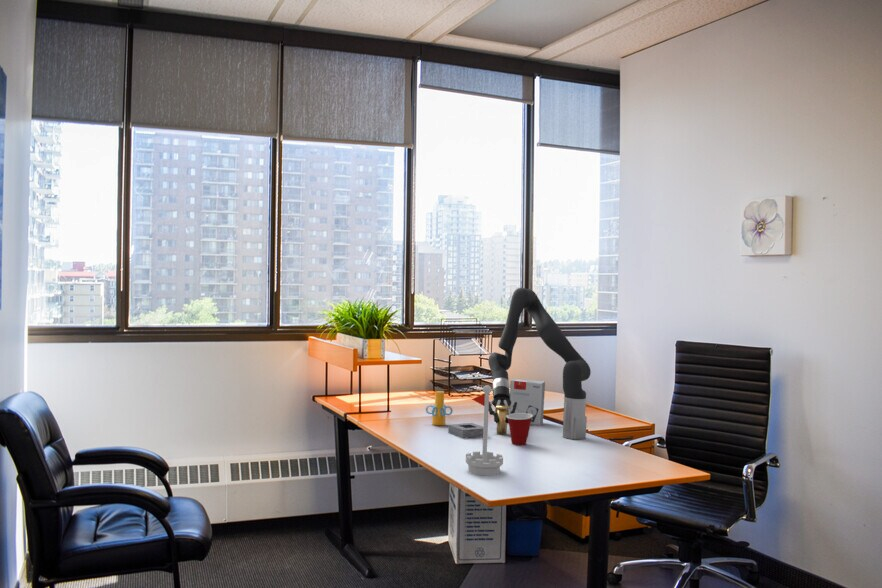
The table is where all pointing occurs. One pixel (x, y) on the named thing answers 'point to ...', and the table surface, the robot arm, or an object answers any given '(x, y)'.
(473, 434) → the jig
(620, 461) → the table surface
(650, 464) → the table surface
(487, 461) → the flag stand
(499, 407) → the gold capped peg
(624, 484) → the table surface
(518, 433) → the plastic cup
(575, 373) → the robot arm
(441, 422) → the tube with loops
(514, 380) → the hard drive box
